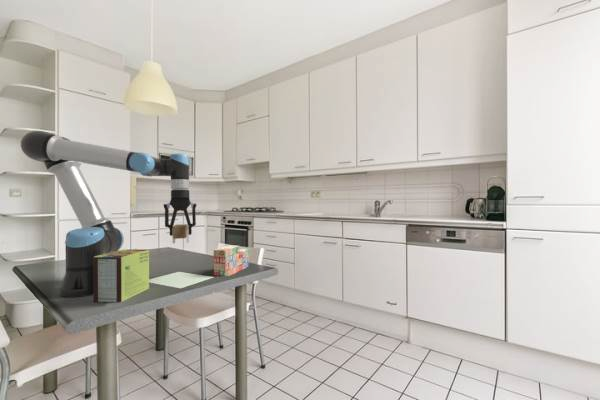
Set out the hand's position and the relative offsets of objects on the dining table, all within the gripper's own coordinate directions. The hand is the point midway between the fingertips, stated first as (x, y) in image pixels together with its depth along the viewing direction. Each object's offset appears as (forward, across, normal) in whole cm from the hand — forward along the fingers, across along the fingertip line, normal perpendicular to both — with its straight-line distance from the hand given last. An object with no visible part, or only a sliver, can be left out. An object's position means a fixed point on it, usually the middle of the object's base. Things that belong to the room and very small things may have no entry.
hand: (180, 242), depth 129 cm
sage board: (+16, 0, -4) cm, 16 cm away
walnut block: (-5, 0, -7) cm, 9 cm away
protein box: (+16, -18, -19) cm, 30 cm away
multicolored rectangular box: (+16, +22, +6) cm, 28 cm away
